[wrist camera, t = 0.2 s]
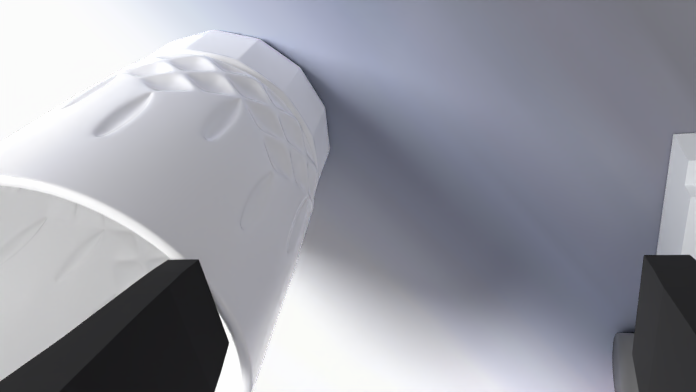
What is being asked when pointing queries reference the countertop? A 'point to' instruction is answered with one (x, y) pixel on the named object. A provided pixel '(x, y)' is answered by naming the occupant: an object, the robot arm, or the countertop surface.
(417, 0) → the countertop surface
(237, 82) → the white cup
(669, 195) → the toy car
